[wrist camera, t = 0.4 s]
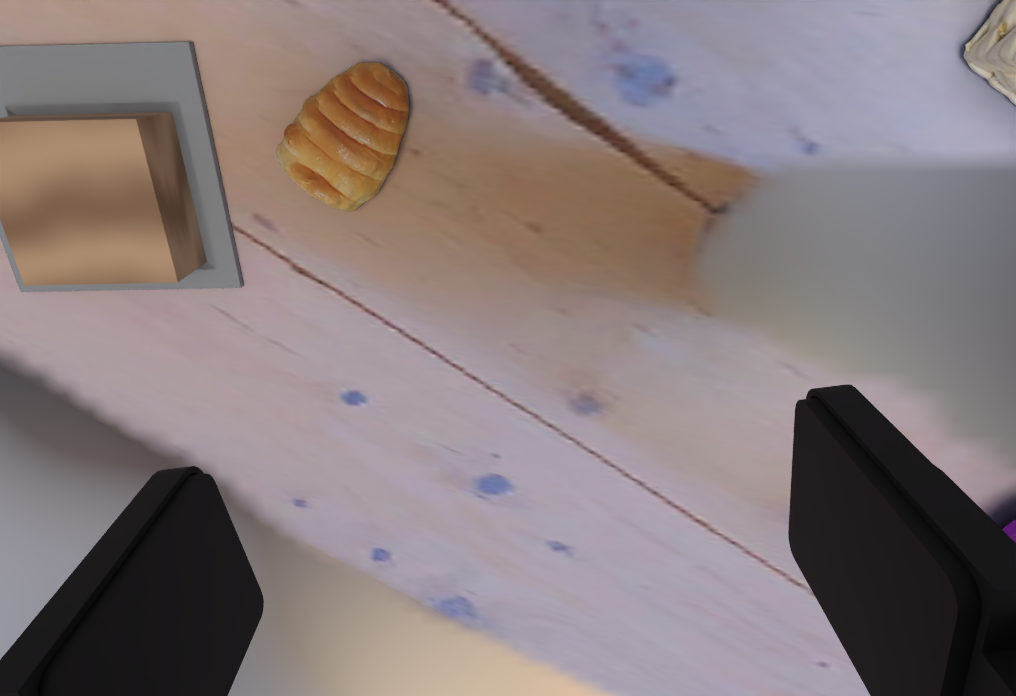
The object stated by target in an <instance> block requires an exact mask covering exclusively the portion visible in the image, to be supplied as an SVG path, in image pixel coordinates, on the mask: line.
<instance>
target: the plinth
mask: <svg viewBox="0 0 1016 696" xmlns="http://www.w3.org/2000/svg"><path fill="white" fill-rule="evenodd" d="M144 103H145V102H144ZM144 103H143V104H144ZM148 103H149V102H148ZM154 103H155V102H153V103H152V104H154ZM166 103H167V102H166ZM172 103H173V102H172ZM175 103H176V102H175ZM105 104H106V103H105ZM105 104H104V106H105ZM107 104H108V103H107ZM125 104H127V103H123V104H122V105H123V106H122V105H119V106H121V108H122V107H124V105H125ZM136 104H137V103H136ZM140 104H141V103H140ZM143 104H142V105H143ZM170 104H171V103H170ZM170 104H169V103H168V105H166V106H170ZM177 104H178V103H177ZM62 105H63V104H62ZM78 105H80V104H78ZM84 105H87V104H84ZM91 105H92V104H91ZM93 105H94V104H93ZM99 105H100V104H99ZM116 105H117V104H116ZM116 105H115V104H114V106H116ZM128 105H130V103H129V104H128ZM131 105H132V104H131ZM145 105H146V104H145ZM162 105H163V102H162ZM179 105H180V104H179ZM9 106H10V105H9ZM15 106H16V105H15ZM29 106H30V105H29ZM29 106H28V107H29ZM54 106H55V104H54ZM67 106H68V105H67ZM74 106H75V105H74ZM76 106H77V105H76ZM82 106H83V105H82ZM106 106H107V105H106ZM112 106H113V105H112ZM136 106H137V105H136ZM138 106H139V103H138ZM152 106H153V105H152ZM152 106H151V107H152ZM156 106H158V105H156ZM174 106H175V105H174ZM177 106H178V105H177ZM177 106H176V107H177ZM5 107H6V106H5ZM22 107H23V106H22ZM36 107H38V106H36ZM43 107H44V106H43ZM43 107H41V108H43ZM52 107H53V106H52ZM56 107H57V106H56ZM65 107H66V106H65ZM65 107H64V108H65ZM88 107H89V106H88ZM91 107H92V106H91ZM128 107H129V106H127V109H128ZM151 107H150V108H151ZM164 107H165V106H164ZM6 108H7V107H6ZM13 108H14V107H13ZM13 108H12V109H13ZM20 108H21V107H20ZM25 108H26V107H24V109H25ZM30 108H31V106H30ZM61 108H62V107H61ZM74 108H76V107H74ZM81 108H83V107H81ZM81 108H79V110H80V109H81ZM98 108H99V107H98ZM112 108H113V107H112ZM118 108H119V109H121V108H120V107H117V109H118ZM141 108H142V107H141ZM141 108H140V109H139V110H138V111H139V112H140V110H142V111H143V109H144V108H142V109H141ZM160 108H161V107H160ZM160 108H159V109H160ZM7 109H8V108H7ZM7 109H6V111H7V114H8V113H9V115H10V113H11V112H12V111H10V110H7ZM27 109H28V108H27ZM49 109H50V108H49ZM58 109H59V108H57V109H56V110H58ZM93 109H94V108H93ZM134 109H137V108H136V107H135V108H134ZM134 109H131V110H134ZM147 109H148V108H147ZM162 109H163V108H162ZM166 109H167V107H166ZM166 109H164V110H166ZM170 109H171V108H170ZM170 109H168V110H169V111H170ZM172 109H174V108H173V107H172ZM22 110H23V109H22ZM33 110H35V109H33ZM70 110H71V109H70ZM75 110H76V109H75ZM75 110H74V111H75ZM79 110H78V111H79ZM84 110H85V109H84ZM90 110H91V109H90ZM94 110H95V109H94ZM94 110H92V112H93V111H94ZM107 110H108V109H107ZM113 110H114V108H113ZM113 110H112V109H111V111H113ZM123 110H124V109H123ZM123 110H122V111H123ZM129 110H130V109H129ZM153 110H154V111H155V109H153ZM157 110H158V109H157ZM160 110H161V109H160ZM164 110H163V111H164ZM174 110H175V109H174ZM176 110H177V109H176ZM18 111H19V109H18ZM20 111H21V110H20ZM42 111H43V110H41V111H40V112H42ZM49 111H50V110H49ZM52 111H53V110H52ZM58 111H59V110H58ZM104 111H105V109H104ZM111 111H110V109H109V111H108V112H107V113H98V114H85V113H83V114H69V113H68V114H66V113H65V114H62V112H61V114H54V115H28V114H27V115H26V114H25V115H23V114H22V115H21V114H20V115H16V114H15V113H14V114H13V112H12V114H13V115H12V114H11V115H10V116H9V115H8V116H9V117H2V118H0V220H1V223H2V226H3V229H4V231H5V234H6V237H7V240H8V242H9V245H10V248H11V250H12V253H13V256H14V259H15V261H16V264H17V267H18V270H19V272H20V275H21V278H22V281H23V283H24V286H30V285H80V284H130V283H178V282H179V281H181V280H182V279H184V278H185V277H186V276H188V275H189V274H191V273H192V272H193V271H195V270H196V269H198V268H199V267H200V266H201V267H202V265H205V264H206V262H207V263H208V261H207V259H208V258H207V259H206V255H207V254H206V255H205V251H204V247H203V242H202V238H201V234H200V232H201V231H200V229H199V227H200V226H201V225H200V226H199V225H198V224H199V223H198V221H197V219H199V218H198V217H196V213H197V212H195V211H196V210H195V208H194V204H193V202H194V201H193V199H192V195H191V193H192V192H194V191H192V190H193V189H192V190H191V191H192V192H191V191H190V185H189V181H191V180H189V181H188V179H189V178H187V174H186V172H187V170H186V169H185V166H186V165H184V161H183V158H184V156H182V152H181V151H182V150H183V148H184V147H183V148H182V150H181V148H180V145H181V144H180V142H179V139H178V138H179V137H180V136H179V135H177V131H176V129H177V128H179V127H177V128H176V126H175V122H178V121H175V122H174V117H175V116H174V117H173V113H172V112H171V111H173V110H171V111H170V112H163V111H162V112H149V111H150V110H149V111H148V110H147V111H148V112H143V113H139V112H138V111H137V112H138V113H137V112H135V113H132V112H133V111H132V112H131V113H128V112H127V113H126V110H124V111H125V113H120V110H119V112H117V111H116V110H115V111H116V112H117V113H114V112H113V113H110V112H111ZM134 111H135V110H134ZM144 111H145V110H144ZM25 112H26V111H25ZM25 112H24V113H25ZM63 112H66V110H65V111H63ZM71 112H72V111H71ZM86 112H88V110H87V111H86ZM99 112H100V111H99ZM179 112H180V109H179ZM29 113H30V109H29ZM32 113H33V112H32ZM32 113H31V114H32ZM35 113H36V112H35ZM44 113H45V111H44ZM37 114H38V112H37ZM42 114H43V113H42ZM45 114H46V113H45ZM177 114H178V112H177ZM14 115H15V116H14ZM175 115H176V114H175ZM178 115H179V114H178ZM181 115H182V114H181ZM176 116H177V115H176ZM180 117H182V116H180ZM175 118H176V117H175ZM182 119H183V118H182ZM175 120H176V119H175ZM179 121H180V120H179ZM182 124H183V121H182ZM184 127H185V126H184ZM180 128H181V127H180ZM180 128H179V129H180ZM179 129H178V130H179ZM183 129H184V128H183ZM184 130H185V129H184ZM184 132H185V131H184ZM180 133H181V132H180ZM183 134H184V133H183ZM185 134H186V133H185ZM180 135H181V136H182V133H181V134H180ZM178 136H179V137H178ZM186 137H187V134H186ZM180 140H181V139H180ZM181 141H182V140H181ZM184 141H185V139H184ZM186 143H187V142H186ZM187 146H188V144H187ZM188 147H189V146H188ZM188 147H187V149H188ZM185 148H186V147H185ZM185 148H184V149H185ZM189 150H190V148H189ZM188 152H189V151H187V153H186V152H185V153H186V154H187V155H188ZM185 153H183V154H185ZM189 153H190V152H189ZM186 154H185V155H186ZM187 158H188V157H187ZM190 158H191V157H190ZM184 159H186V157H185V158H184ZM188 159H189V158H188ZM191 159H192V158H191ZM190 161H191V160H190ZM187 162H189V161H187ZM185 163H186V162H185ZM192 164H193V162H192ZM188 167H189V166H188ZM190 167H191V165H190ZM192 169H193V165H192ZM192 169H191V170H192ZM188 171H189V170H188ZM191 172H193V171H191ZM194 173H195V172H194ZM194 173H193V174H194ZM190 176H191V174H190ZM190 176H189V177H190ZM193 179H195V178H193ZM195 180H196V179H195ZM192 183H193V181H192ZM195 183H196V182H195ZM197 184H198V183H197ZM197 186H198V185H197ZM197 186H196V187H197ZM196 187H195V188H196ZM198 193H200V191H199V192H198ZM198 193H197V194H198ZM195 194H196V193H195ZM195 194H193V195H195ZM193 197H194V196H193ZM199 198H201V197H199ZM195 199H196V198H195ZM198 202H199V201H197V202H196V203H197V204H199V203H198ZM196 203H195V204H196ZM197 204H196V205H197ZM196 205H195V206H196ZM200 206H201V205H200ZM201 207H202V206H201ZM197 208H198V209H199V207H197ZM203 214H204V213H203ZM198 215H199V214H198ZM200 216H201V215H200ZM202 217H203V216H202ZM202 220H203V219H202ZM204 220H206V219H204ZM200 222H201V221H200ZM201 223H202V222H201ZM204 225H205V224H204ZM206 226H207V225H206ZM206 226H205V228H206ZM207 228H208V227H207ZM202 230H203V229H202ZM205 230H206V229H205ZM203 231H204V230H203ZM203 231H202V232H203ZM202 232H201V233H202ZM208 232H209V231H208ZM206 233H207V232H206ZM206 233H205V234H206ZM203 234H204V233H203ZM205 234H204V235H205ZM206 236H207V234H206ZM208 241H209V239H208ZM210 242H211V241H210ZM208 243H209V242H208ZM205 245H206V244H205ZM205 245H204V246H205ZM210 248H211V247H210ZM206 251H207V249H206ZM212 252H213V251H212ZM207 253H208V252H207ZM211 256H212V255H211ZM210 258H211V257H210ZM214 261H215V260H214ZM212 262H213V261H212ZM204 263H205V264H204ZM209 264H210V263H209ZM209 264H208V265H206V266H205V267H206V268H207V267H209ZM213 264H214V263H213ZM210 266H211V264H210ZM205 267H202V268H203V270H206V268H205ZM202 268H201V270H202ZM204 268H205V269H204ZM211 268H212V269H214V270H215V267H213V266H211ZM211 268H209V269H208V270H212V269H211ZM199 270H200V269H199Z"/></svg>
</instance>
